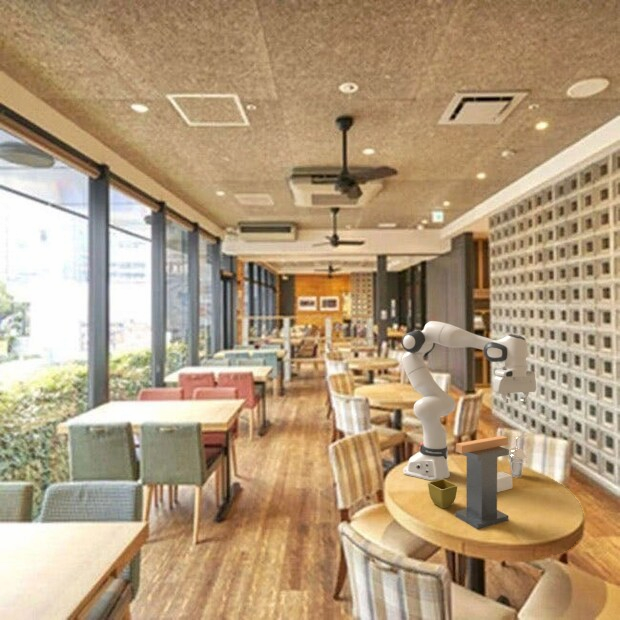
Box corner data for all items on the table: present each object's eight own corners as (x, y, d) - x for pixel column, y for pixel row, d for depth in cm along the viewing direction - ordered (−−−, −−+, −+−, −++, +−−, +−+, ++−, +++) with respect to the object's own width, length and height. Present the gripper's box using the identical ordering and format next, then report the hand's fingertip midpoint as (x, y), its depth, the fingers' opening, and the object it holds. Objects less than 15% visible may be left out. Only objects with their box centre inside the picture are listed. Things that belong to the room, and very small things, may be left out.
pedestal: (477, 529, 177) (477, 455, 176) (455, 516, 188) (455, 446, 187) (508, 520, 184) (508, 449, 183) (485, 508, 195) (485, 441, 194)
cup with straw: (507, 471, 236) (507, 431, 235) (526, 474, 232) (527, 433, 232) (507, 477, 228) (507, 436, 227) (527, 480, 224) (527, 438, 224)
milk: (502, 483, 220) (466, 492, 211) (502, 470, 220) (466, 479, 210) (512, 488, 215) (476, 497, 205) (512, 475, 215) (476, 484, 205)
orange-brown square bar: (461, 453, 179) (461, 445, 179) (456, 451, 182) (456, 443, 181) (507, 444, 189) (507, 437, 189) (501, 442, 192) (501, 435, 192)
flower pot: (441, 511, 192) (441, 489, 192) (427, 503, 200) (427, 482, 200) (457, 507, 196) (457, 485, 196) (442, 499, 204) (442, 478, 204)
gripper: (529, 369, 215) (528, 399, 215) (491, 371, 209) (490, 401, 210) (540, 371, 209) (539, 402, 209) (501, 373, 203) (500, 405, 203)
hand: (514, 402), depth 209 cm, fingers open, 8 cm apart
